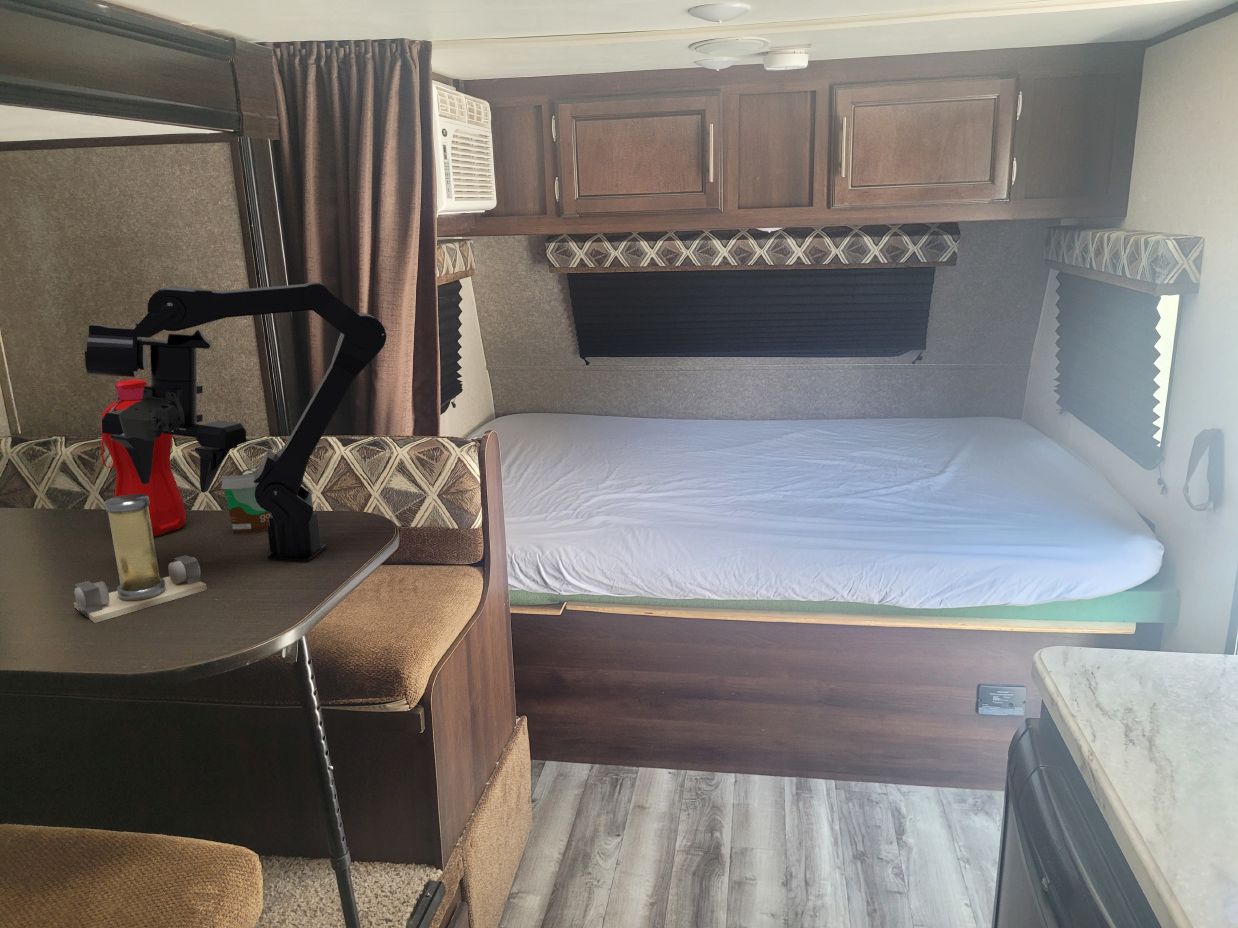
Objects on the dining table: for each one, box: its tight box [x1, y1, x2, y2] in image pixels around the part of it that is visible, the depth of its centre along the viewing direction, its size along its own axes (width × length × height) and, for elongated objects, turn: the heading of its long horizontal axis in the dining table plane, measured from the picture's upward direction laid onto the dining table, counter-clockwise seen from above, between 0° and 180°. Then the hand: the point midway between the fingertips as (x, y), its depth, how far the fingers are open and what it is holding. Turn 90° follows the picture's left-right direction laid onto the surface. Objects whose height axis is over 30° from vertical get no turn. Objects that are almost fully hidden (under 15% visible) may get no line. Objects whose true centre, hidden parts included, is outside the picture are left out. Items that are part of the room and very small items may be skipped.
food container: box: [221, 458, 272, 535], centre depth 146 cm, size 12×6×10 cm, turn 170°
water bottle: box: [99, 378, 187, 538], centre depth 141 cm, size 9×11×25 cm
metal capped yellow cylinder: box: [104, 494, 166, 602], centre depth 115 cm, size 6×6×13 cm
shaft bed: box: [73, 554, 208, 624], centre depth 116 cm, size 15×7×4 cm, turn 139°
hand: (174, 487), depth 125 cm, fingers open, 9 cm apart
